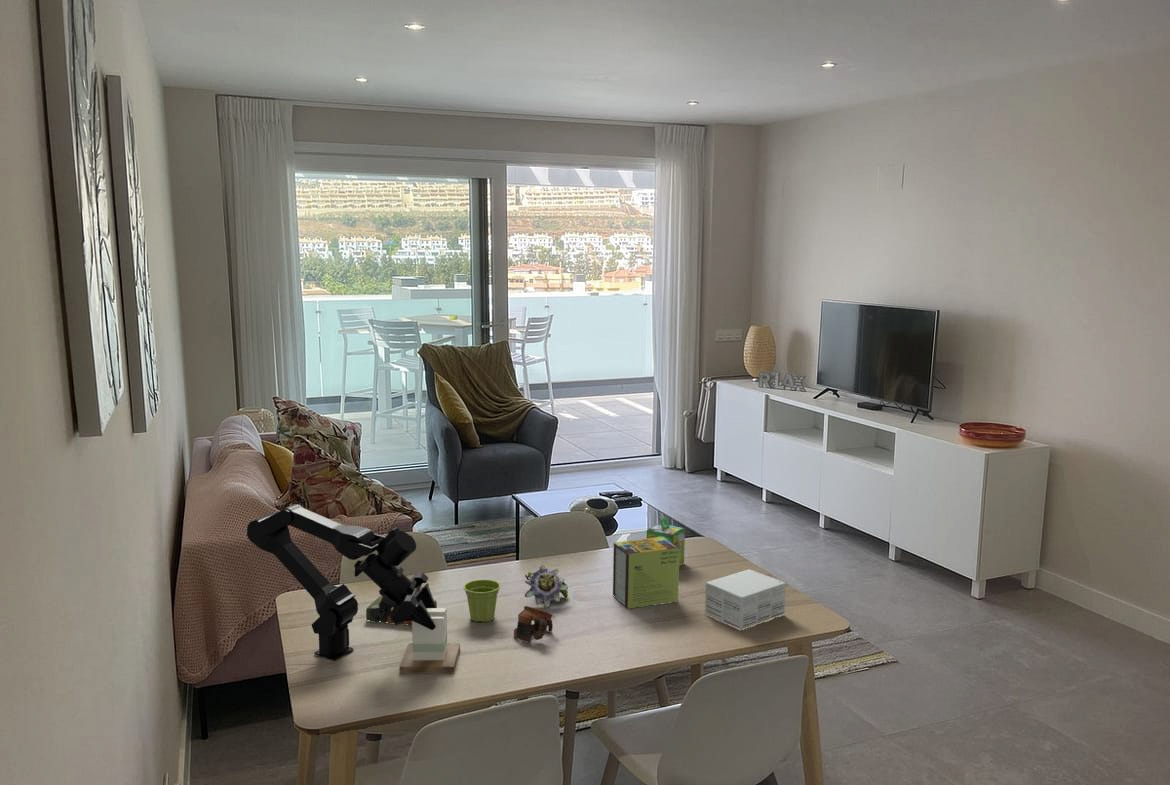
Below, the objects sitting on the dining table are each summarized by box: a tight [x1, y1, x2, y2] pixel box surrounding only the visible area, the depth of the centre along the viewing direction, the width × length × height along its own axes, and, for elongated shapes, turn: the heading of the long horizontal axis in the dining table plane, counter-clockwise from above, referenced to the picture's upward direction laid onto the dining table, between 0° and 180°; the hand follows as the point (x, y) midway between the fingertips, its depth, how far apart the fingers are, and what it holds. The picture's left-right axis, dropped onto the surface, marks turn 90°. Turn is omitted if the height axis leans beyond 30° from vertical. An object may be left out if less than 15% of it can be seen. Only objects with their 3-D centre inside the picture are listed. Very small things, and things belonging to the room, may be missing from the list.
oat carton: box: [411, 607, 448, 660], centre depth 197 cm, size 7×6×11 cm
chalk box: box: [646, 515, 686, 567], centre depth 263 cm, size 9×9×15 cm
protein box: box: [612, 537, 680, 610], centre depth 236 cm, size 10×15×16 cm
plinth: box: [399, 642, 461, 674], centre depth 198 cm, size 12×12×2 cm
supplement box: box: [704, 568, 786, 629], centre depth 226 cm, size 17×13×9 cm
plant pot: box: [463, 579, 501, 623], centre depth 222 cm, size 9×9×9 cm
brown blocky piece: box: [513, 605, 554, 644], centre depth 212 cm, size 12×10×8 cm
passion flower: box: [524, 563, 569, 608], centre depth 234 cm, size 11×11×12 cm
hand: (436, 622), depth 197 cm, fingers open, 6 cm apart
